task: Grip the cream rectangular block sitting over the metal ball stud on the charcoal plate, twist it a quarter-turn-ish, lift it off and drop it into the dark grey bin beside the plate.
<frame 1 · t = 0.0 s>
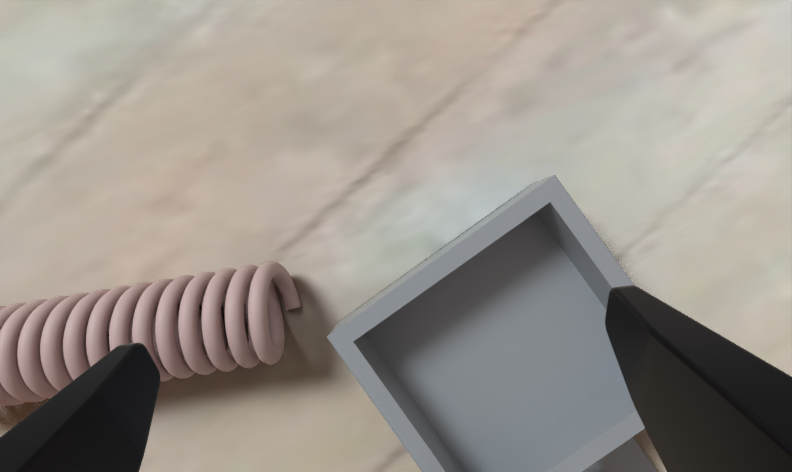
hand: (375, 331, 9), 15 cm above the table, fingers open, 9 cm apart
bin: (497, 339, 24), on the table
coil: (133, 328, 25), on the table
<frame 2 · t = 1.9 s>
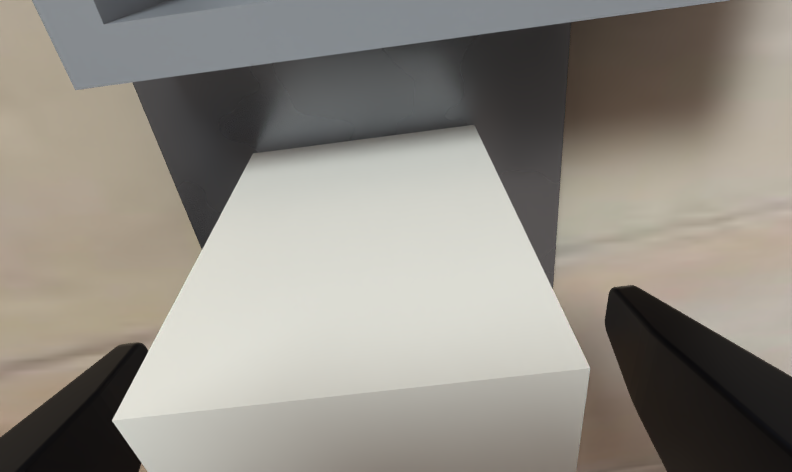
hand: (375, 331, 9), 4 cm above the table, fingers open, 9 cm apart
cream rectangular block: (378, 232, 12), point 1 cm above the table, touching stud plate
stud plate: (378, 212, 13), on the table
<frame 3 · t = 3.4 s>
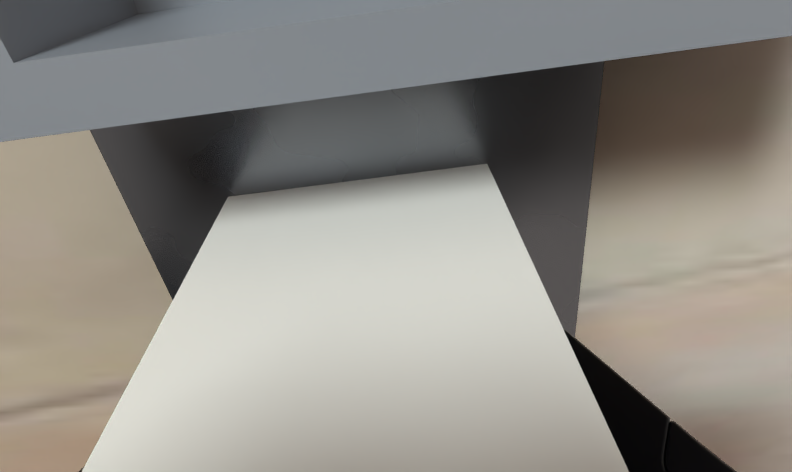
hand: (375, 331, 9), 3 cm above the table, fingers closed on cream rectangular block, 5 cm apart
cream rectangular block: (375, 282, 11), point 1 cm above the table, touching gripper, stud plate
stud plate: (376, 255, 12), on the table
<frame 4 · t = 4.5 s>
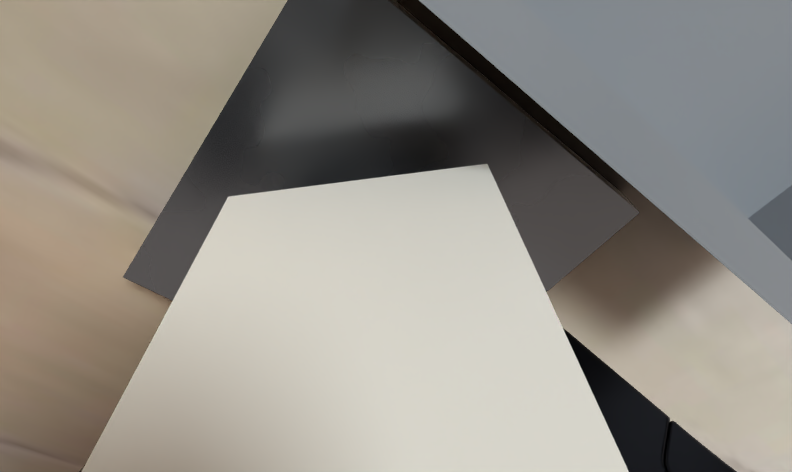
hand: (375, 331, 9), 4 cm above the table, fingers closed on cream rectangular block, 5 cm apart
cream rectangular block: (375, 282, 11), point 2 cm above the table, touching gripper
stud plate: (375, 224, 13), on the table
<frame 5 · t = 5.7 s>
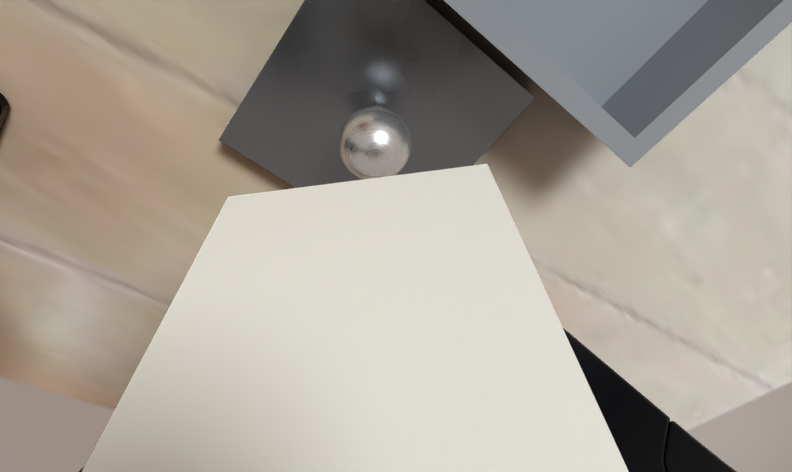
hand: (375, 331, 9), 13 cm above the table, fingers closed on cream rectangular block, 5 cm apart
cream rectangular block: (375, 282, 11), point 11 cm above the table, touching gripper
stud plate: (374, 111, 20), on the table
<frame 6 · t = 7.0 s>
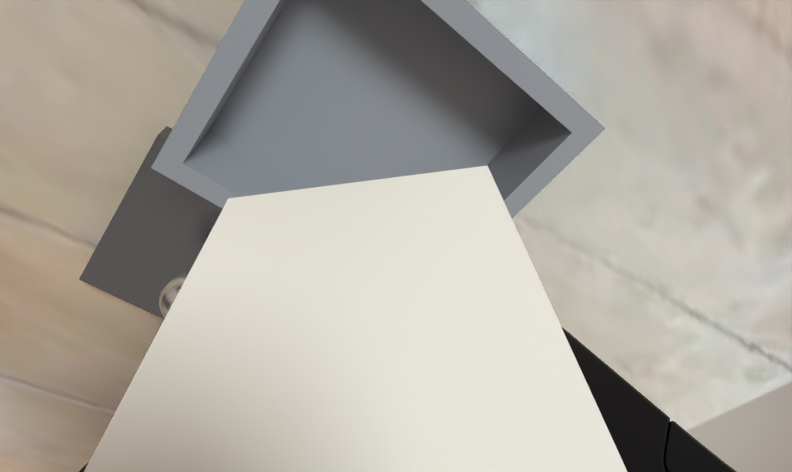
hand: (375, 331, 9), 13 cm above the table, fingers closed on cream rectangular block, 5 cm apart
cream rectangular block: (375, 283, 11), point 11 cm above the table, touching gripper
bin: (376, 110, 20), on the table
stud plate: (216, 251, 24), on the table
when the fingers open (4 cm above the table, at t = 9.3 s): cream rectangular block drops 2 cm, resting on bin.
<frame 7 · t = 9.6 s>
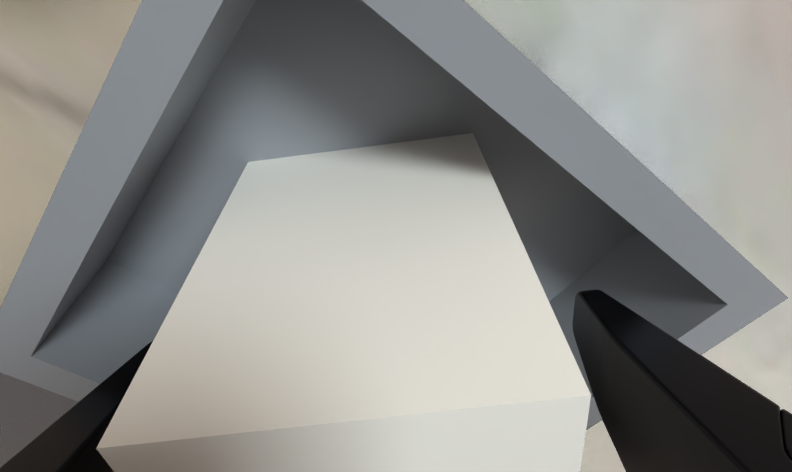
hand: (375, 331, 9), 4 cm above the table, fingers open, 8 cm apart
cream rectangular block: (375, 241, 12), point 1 cm above the table, touching bin
bin: (376, 222, 13), on the table
stud plate: (143, 402, 16), on the table
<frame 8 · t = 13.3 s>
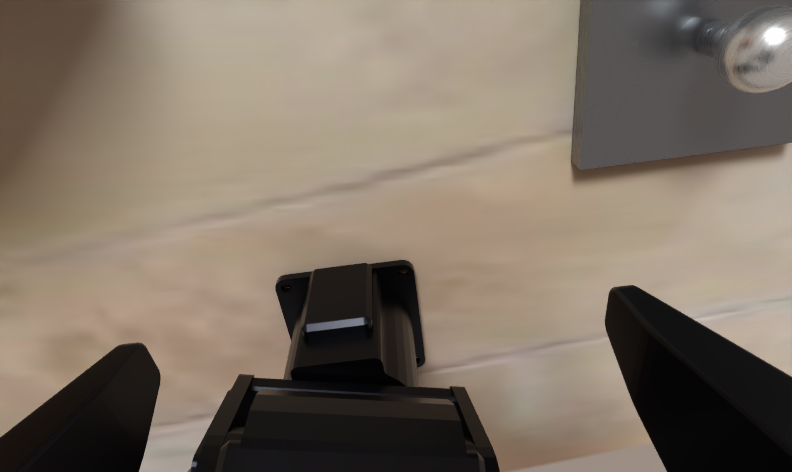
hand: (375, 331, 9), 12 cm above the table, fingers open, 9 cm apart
stud plate: (696, 34, 18), on the table
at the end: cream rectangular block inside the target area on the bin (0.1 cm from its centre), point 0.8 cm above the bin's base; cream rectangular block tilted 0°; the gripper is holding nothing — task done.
